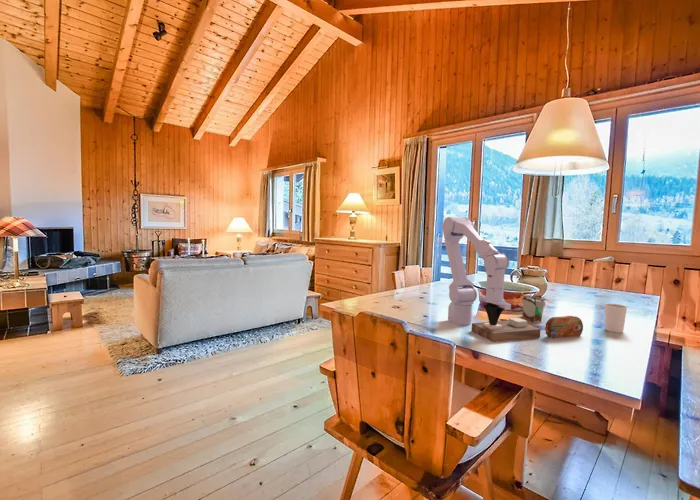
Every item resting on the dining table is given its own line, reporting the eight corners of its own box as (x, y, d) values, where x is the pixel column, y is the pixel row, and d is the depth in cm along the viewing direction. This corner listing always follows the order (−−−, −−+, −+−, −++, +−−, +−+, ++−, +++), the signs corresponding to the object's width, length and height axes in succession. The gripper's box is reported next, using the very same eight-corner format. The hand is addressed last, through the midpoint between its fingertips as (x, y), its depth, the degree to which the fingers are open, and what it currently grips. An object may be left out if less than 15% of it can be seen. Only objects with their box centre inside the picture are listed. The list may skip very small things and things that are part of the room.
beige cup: (628, 333, 134) (630, 308, 133) (608, 332, 135) (611, 307, 134) (618, 328, 140) (620, 304, 139) (600, 327, 142) (602, 303, 141)
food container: (550, 326, 142) (552, 302, 141) (535, 326, 142) (536, 301, 141) (535, 317, 154) (536, 295, 153) (521, 317, 154) (522, 295, 153)
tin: (549, 342, 123) (551, 318, 122) (542, 339, 126) (544, 316, 125) (583, 338, 127) (584, 316, 126) (575, 336, 130) (577, 314, 129)
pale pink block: (483, 331, 128) (483, 323, 127) (493, 330, 129) (493, 322, 129) (491, 334, 123) (491, 326, 123) (501, 333, 125) (502, 325, 124)
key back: (508, 326, 131) (508, 318, 130) (518, 325, 132) (518, 317, 132) (517, 329, 126) (517, 321, 126) (526, 329, 128) (527, 321, 127)
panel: (471, 333, 131) (471, 323, 130) (515, 329, 136) (515, 319, 136) (492, 344, 119) (493, 333, 119) (539, 339, 125) (540, 329, 125)
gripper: (519, 291, 119) (516, 329, 120) (490, 283, 133) (489, 318, 134) (502, 291, 117) (499, 331, 118) (475, 284, 131) (473, 319, 132)
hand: (493, 324), depth 126 cm, fingers closed, pressing on pale pink block
